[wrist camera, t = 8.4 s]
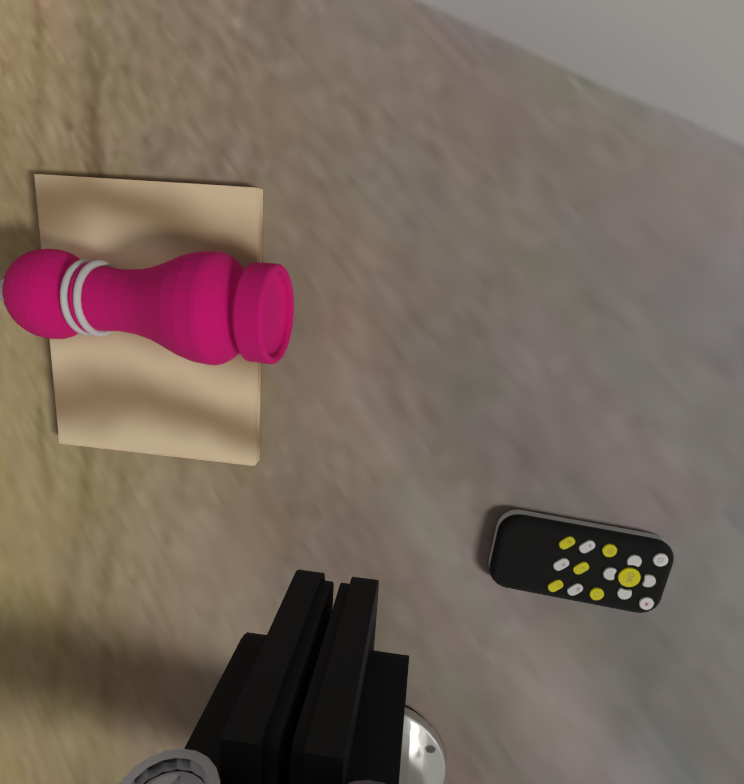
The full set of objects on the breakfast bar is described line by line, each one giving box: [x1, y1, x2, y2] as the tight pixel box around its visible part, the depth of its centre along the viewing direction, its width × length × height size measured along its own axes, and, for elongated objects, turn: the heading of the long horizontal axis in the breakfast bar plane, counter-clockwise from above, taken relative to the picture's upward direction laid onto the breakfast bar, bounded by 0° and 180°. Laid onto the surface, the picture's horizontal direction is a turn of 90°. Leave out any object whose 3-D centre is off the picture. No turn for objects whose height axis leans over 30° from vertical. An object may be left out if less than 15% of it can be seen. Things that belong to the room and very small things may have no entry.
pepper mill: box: [0, 249, 294, 365], centre depth 36 cm, size 7×7×20 cm
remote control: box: [489, 510, 674, 613], centre depth 41 cm, size 6×13×2 cm, turn 82°
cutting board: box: [34, 174, 263, 466], centre depth 40 cm, size 20×16×1 cm
